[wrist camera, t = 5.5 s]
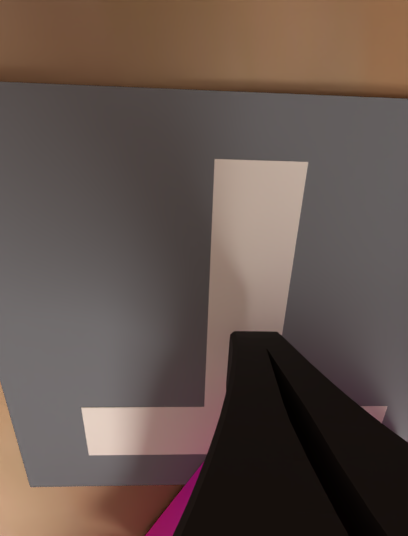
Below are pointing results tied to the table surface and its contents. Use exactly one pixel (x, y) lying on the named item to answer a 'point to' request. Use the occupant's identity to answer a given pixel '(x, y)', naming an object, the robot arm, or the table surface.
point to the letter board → (190, 264)
